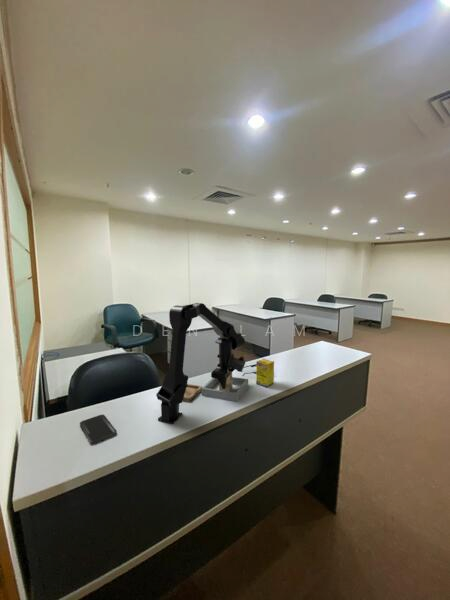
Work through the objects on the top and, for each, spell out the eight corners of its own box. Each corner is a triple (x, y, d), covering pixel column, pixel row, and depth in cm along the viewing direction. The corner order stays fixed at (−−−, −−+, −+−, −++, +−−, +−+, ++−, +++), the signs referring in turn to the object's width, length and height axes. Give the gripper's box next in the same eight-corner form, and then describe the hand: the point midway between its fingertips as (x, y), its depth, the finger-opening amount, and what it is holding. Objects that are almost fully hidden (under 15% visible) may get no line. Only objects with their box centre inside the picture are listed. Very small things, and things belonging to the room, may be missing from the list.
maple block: (229, 393, 106) (228, 375, 106) (219, 391, 108) (219, 373, 107) (232, 388, 111) (232, 371, 110) (223, 387, 112) (222, 370, 112)
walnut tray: (189, 402, 99) (189, 398, 99) (163, 397, 103) (163, 394, 103) (202, 389, 110) (202, 386, 110) (179, 385, 114) (179, 382, 114)
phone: (103, 413, 90) (117, 432, 79) (103, 416, 90) (117, 435, 79) (78, 422, 85) (90, 443, 74) (78, 425, 85) (90, 447, 74)
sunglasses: (267, 377, 123) (265, 367, 123) (243, 381, 123) (242, 371, 123) (262, 369, 134) (261, 360, 133) (240, 373, 133) (239, 364, 133)
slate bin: (237, 401, 99) (237, 394, 99) (201, 395, 105) (201, 388, 105) (248, 385, 114) (248, 379, 114) (216, 380, 120) (216, 374, 119)
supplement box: (256, 384, 115) (256, 361, 114) (263, 380, 120) (263, 358, 119) (266, 388, 111) (266, 364, 110) (274, 383, 115) (274, 361, 115)
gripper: (236, 360, 96) (236, 399, 98) (249, 348, 114) (249, 380, 115) (210, 357, 100) (210, 394, 102) (226, 345, 118) (226, 377, 119)
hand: (225, 386), depth 109 cm, fingers closed on maple block, 4 cm apart
